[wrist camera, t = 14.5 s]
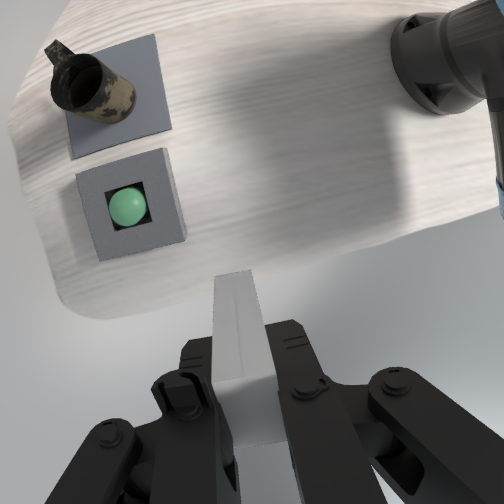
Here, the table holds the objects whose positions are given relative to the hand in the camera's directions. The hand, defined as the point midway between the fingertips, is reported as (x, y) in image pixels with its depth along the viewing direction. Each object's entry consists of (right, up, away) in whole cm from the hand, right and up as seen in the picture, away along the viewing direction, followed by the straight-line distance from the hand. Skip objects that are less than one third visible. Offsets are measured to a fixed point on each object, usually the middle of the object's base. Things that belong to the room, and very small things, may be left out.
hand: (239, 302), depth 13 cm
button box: (-13, +8, +21) cm, 26 cm away
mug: (-15, +20, +17) cm, 30 cm away
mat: (-15, +20, +17) cm, 31 cm away
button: (-13, +7, +20) cm, 25 cm away
